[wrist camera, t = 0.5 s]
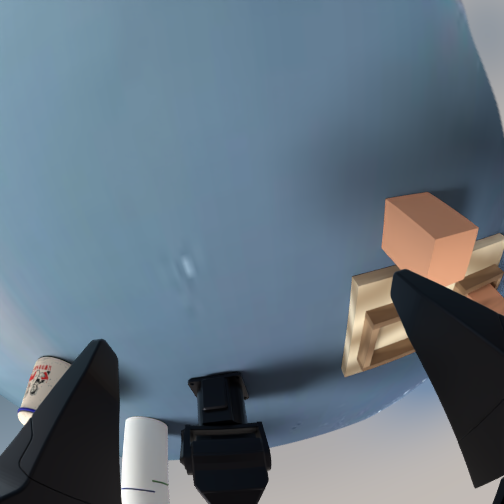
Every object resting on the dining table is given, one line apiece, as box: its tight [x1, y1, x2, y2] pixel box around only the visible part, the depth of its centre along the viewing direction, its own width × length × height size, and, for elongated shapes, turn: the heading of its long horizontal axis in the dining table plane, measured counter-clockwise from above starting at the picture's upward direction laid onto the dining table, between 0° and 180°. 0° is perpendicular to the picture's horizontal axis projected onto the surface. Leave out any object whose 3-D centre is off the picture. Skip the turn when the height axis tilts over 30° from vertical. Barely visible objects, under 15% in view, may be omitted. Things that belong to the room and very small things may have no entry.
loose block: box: [382, 192, 479, 287], centre depth 20 cm, size 5×5×7 cm
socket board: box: [341, 233, 504, 377], centre depth 27 cm, size 16×24×8 cm, turn 99°
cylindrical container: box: [121, 417, 169, 504], centre depth 27 cm, size 7×7×25 cm
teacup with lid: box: [18, 357, 71, 425], centre depth 25 cm, size 12×9×12 cm
